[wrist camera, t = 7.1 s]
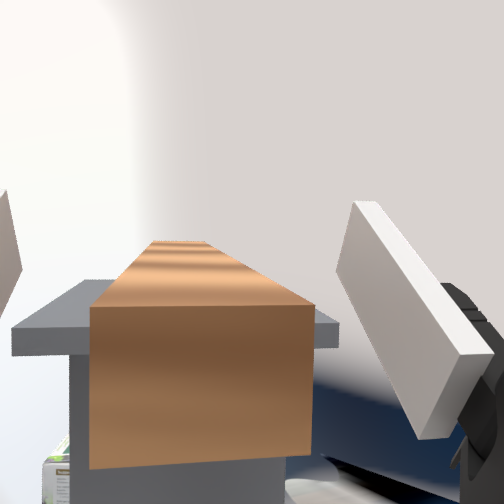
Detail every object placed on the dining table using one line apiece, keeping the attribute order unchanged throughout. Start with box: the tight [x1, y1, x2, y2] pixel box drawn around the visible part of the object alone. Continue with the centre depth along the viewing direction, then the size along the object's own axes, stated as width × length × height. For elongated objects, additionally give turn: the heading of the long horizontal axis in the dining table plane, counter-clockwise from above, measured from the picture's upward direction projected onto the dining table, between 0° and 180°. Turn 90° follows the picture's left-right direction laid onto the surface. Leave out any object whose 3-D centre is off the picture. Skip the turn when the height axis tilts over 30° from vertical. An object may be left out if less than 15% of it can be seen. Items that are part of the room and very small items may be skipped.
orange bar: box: [89, 241, 315, 470], centre depth 20 cm, size 26×4×2 cm, turn 10°
